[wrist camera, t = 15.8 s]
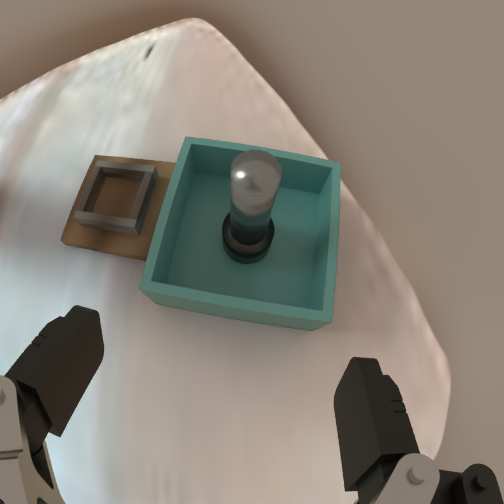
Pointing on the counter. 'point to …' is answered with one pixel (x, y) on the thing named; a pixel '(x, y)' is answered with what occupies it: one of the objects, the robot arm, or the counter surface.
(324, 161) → the bin
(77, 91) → the counter surface
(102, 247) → the square framed wooden base
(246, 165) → the tube
